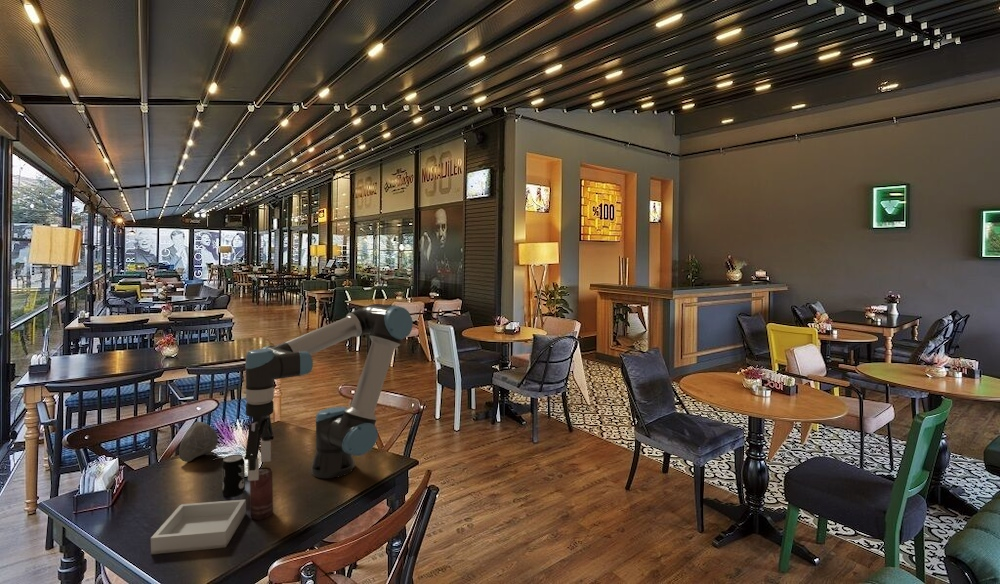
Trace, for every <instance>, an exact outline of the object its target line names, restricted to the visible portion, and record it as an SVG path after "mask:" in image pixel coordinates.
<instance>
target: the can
mask: <svg viewBox="0 0 1000 584" xmlns="http://www.w3.org/2000/svg"><path fill="white" fill-rule="evenodd" d="M273 486H274V484H273V471H272V468H270V467H266V466H265V467H259V479H258V480H253V481H249V494H250V496H249V497H250V498H249V499H250V501H249V502H250V505H249V506H250V517H251V519H252V520H256V521H261V520H266V519H268V518H270V517H271V516H272V514H273V513H274V495H273V493H274V492H273V491H274V490H273Z"/></svg>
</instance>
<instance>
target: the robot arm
mask: <svg viewBox="0 0 1000 584" xmlns="http://www.w3.org/2000/svg"><path fill="white" fill-rule="evenodd" d="M413 323H414V322H413V318H412V316H411V313H410V312H409V310H407V309H406V308H405V307H402V306H399V305H394V304H393V305H391V304H382V303H374V304H369V305H366V306H364V307H363V306H362V307H361V308H359V309H356V310H354V311H351V312H348V313H347V314H346V315H345V317H343V318H341V319H339V320H337V321H334V322H331V323H329V324H326V325H325V326H322V327H319V328H317V329H314V330H311V331H310V332H308V333H305V334H302V335H299V336H298V337H295V338H292V339H290V340H287V341H286V342H282V343H279V344H277V345H275V346H274V345H267V346H263V347H262V348H257V349H251V350H249V351H247V353H246V355H245V365H244V366H245V367H244V368H245V390H244V391H243V394H245V402H246V403H245V416H247V417H249V418H250V417H251V418H252V421H251V422H250V423H249V424H248V432H247V433H248V434H247V440H246V441H247V442H246V449H245V456H243V459H244V460H247V481H248V482H250V481H253V480H258V479H259V468H260V463H259V462H261V463H265V462H271V461H272V457H271V456H272V453H271V452H272V443H271V442H272V440H274V438H275V437H274V435H273V434H274V433H273V427H272V421H271V415H272V414H273V413H274V410H275V409H274V406H275V405H274V401H273V400H274V398H275V397H274V394H275V393H274V389H275V388H274V387H275V385H274V381H275V380H279V379H281V380H282V379H286V378H287V379H288V378H293V377H301V376H304V375H308V374H310V373H311V372H312V370H313V366H314V361H313V360H314V359H313V357H312V355H313V354H316V353H319V352H320V351H322V350H325V349H328V348H330V347H331V346H333V345H337V344H339V343H341V342H343V341H345V340H347V339H350V338H352V337H355V338H358V337H360V336H364V335H369V339H370V341H371V344H370V347H369V350H368V353H367V356H366V358H365V362H364V364H363V368H362V370H361V371H362V372H361V373H360V375H359V376H360V377H359V379H358V383H357V385H356V389H355V392H354V395H353V397H352V400H351V401H352V402H350V403H351V404H350V406H349V407H347V406H335V407H329V408H324V409H321V410H319V411H317V413H316V417H315V443H316V444H315V445H316V448H315V449H316V450H315V455H314V458H313V461H312V463H311V471H310V472H311V475H312V476H313V477H315V478H318V479H335V478H334V477H337V478H339V477H338V476H341V475H344V474H347V473H349V472H350V471H351V470H352V469H353V468H354V469H355V460H354V457H353V456H355V457H360V456H363V455H366V454H367V453H369V452H370V451H371V450H372V449H373V448H374V446H375V445H376V443H377V441H378V437H379V435H378V434H379V432H378V429H377V427H376V422H377V416H376V414H375V411H376V408H377V405H378V401H379V399H380V396H381V393H382V389H383V386H384V383H385V380H386V376H387V373H388V371H389V367H390V365H391V362H392V357H393V356H394V352H395V349H397V348H398V347H400V346H401V343H402V340H403V339H406V338H407V337H408V336H409V335H410V334H411V332H412V330H413V326H414V325H413ZM259 450H260V451H259ZM259 452H260V457H259V456H258V455H259ZM259 458H260V461H259ZM350 473H351V472H350ZM350 473H349V474H350ZM347 475H348V474H347ZM344 476H345V475H344ZM341 477H342V476H341Z"/></svg>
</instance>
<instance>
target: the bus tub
mask: <svg viewBox="0 0 1000 584" xmlns="http://www.w3.org/2000/svg"><path fill="white" fill-rule="evenodd" d="M246 515H247V500H246V499H236V500H235V499H233V500H232V499H231V500H222V501H208V502H196V503H195V502H194V503H182V504H179V506H177V508H176V509H175V510H174V511H173V512H172V513H171V514H170V516H169V517H168V518H167V519H166V520H165V521H164V522H163V523H162V525H160V527H159V528H158V529H157V530H156V532H154V534H153V535H152V536H151V537H150V555H159V554H160V555H161V554H169V553H170V554H171V553H180V552H181V553H182V552H190V551H192V552H193V551H202V550H203V551H205V550H211V549H212V550H215V549H223V548H224V549H226V547H227V546H228V544H229V543H230V541H231V540H232V537H233V536H234V535H235V533H236V531H237V529H238V527H239V526H240V525H241V523H242V521H243V520H244V519H245V516H246Z"/></svg>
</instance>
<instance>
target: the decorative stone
mask: <svg viewBox="0 0 1000 584" xmlns="http://www.w3.org/2000/svg"><path fill="white" fill-rule="evenodd" d="M218 436H219V435H218V434H217V432H216V430H215V429H214V428H213V427H212V426H210V425H209V424H207V423H206V422H203V421H195V422H194V424H192V425H191V426H190V427H189V428H188V430H186V432H185V434H184V435H183V438H182V440H181V442H180V443H179V448H178V449H179V450H178V456H179V459H180V461H182V462H185V463H190V462H192V461H194V459H195V458H199V457H200V456H204V455H208V454H212V452H211V451H212V449H214V448H215V449H216V448H217V444H218V440H219V438H218Z"/></svg>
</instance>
